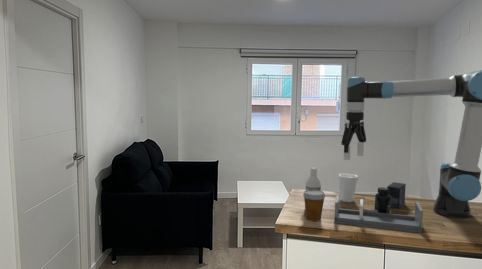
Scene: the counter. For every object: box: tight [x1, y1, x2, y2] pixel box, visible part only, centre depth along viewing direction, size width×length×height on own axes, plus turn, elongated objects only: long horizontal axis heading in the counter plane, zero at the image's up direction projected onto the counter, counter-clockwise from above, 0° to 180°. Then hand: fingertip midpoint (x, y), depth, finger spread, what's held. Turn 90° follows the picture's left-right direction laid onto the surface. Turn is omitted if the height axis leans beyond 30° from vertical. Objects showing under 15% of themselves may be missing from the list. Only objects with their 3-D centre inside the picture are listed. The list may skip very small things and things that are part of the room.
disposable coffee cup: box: [302, 189, 326, 222], centre depth 163 cm, size 10×10×12 cm
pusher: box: [359, 198, 378, 219], centre depth 161 cm, size 7×10×7 cm
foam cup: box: [337, 172, 359, 203], centre depth 191 cm, size 10×9×13 cm
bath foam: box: [305, 166, 322, 191], centre depth 175 cm, size 7×7×20 cm
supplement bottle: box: [373, 186, 391, 214], centre depth 170 cm, size 7×7×12 cm
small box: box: [386, 182, 407, 210], centre depth 183 cm, size 11×6×10 cm, turn 143°
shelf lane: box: [333, 194, 424, 234], centre depth 160 cm, size 34×14×9 cm, turn 72°
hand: (353, 157), depth 172 cm, fingers open, 13 cm apart
